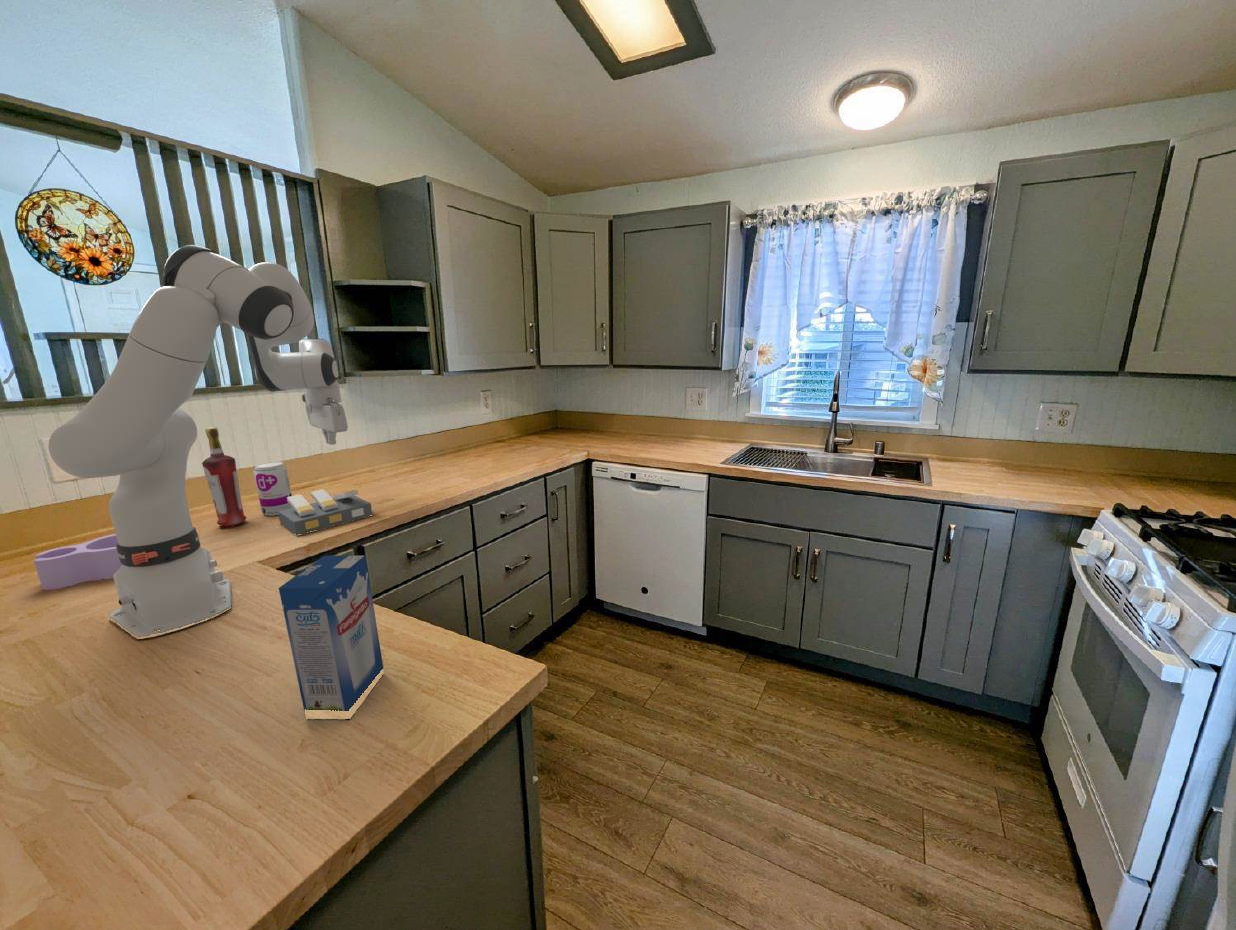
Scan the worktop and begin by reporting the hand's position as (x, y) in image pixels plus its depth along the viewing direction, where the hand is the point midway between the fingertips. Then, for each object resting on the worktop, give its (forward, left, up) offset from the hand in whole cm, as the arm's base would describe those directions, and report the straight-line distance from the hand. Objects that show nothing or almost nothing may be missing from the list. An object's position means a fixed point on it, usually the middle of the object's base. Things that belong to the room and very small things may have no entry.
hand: (331, 444), depth 150 cm
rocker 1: (-4, +12, -15) cm, 19 cm away
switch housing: (-4, +6, -21) cm, 22 cm away
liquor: (+14, +25, -21) cm, 35 cm away
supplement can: (+16, +13, -21) cm, 29 cm away
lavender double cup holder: (-1, +52, -21) cm, 56 cm away
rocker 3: (-4, 0, -15) cm, 15 cm away
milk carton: (-88, +32, -21) cm, 96 cm away
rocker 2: (-4, +6, -15) cm, 16 cm away
